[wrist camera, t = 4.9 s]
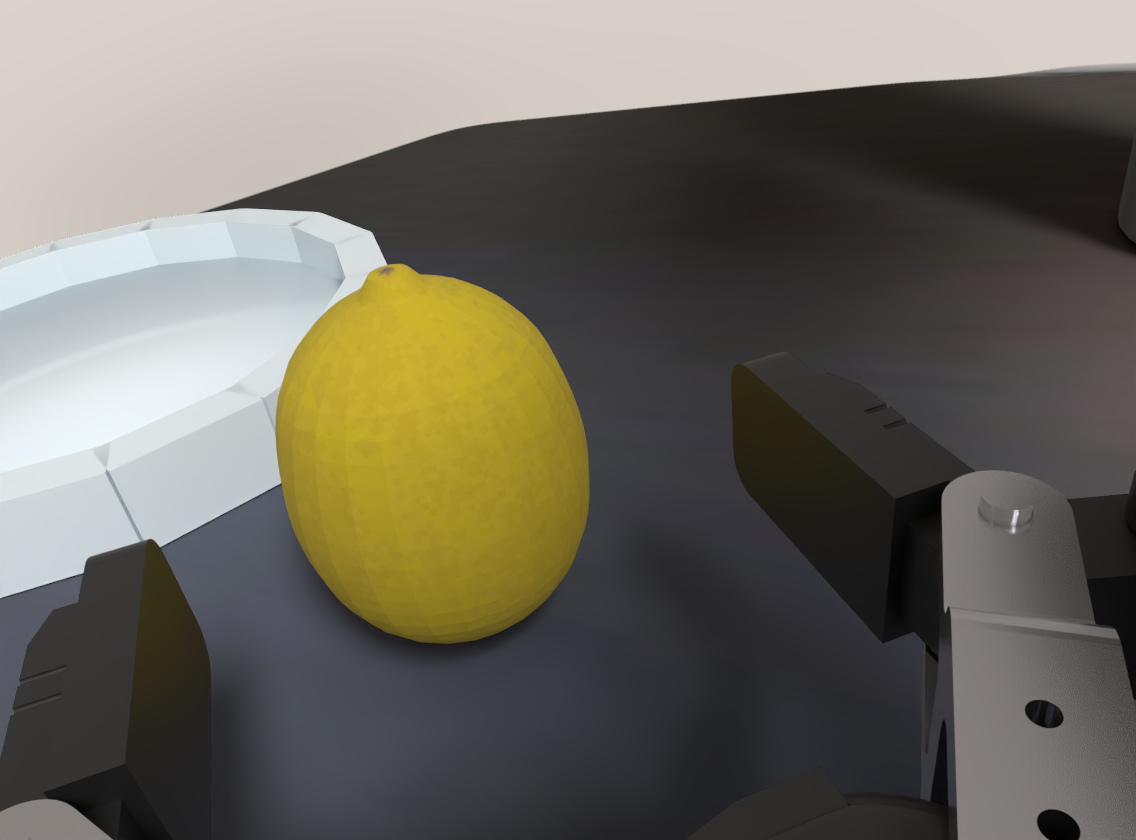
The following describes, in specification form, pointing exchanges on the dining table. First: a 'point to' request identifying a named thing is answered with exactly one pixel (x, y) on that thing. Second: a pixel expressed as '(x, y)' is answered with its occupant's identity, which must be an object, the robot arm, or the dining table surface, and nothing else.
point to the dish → (152, 375)
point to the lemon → (432, 457)
